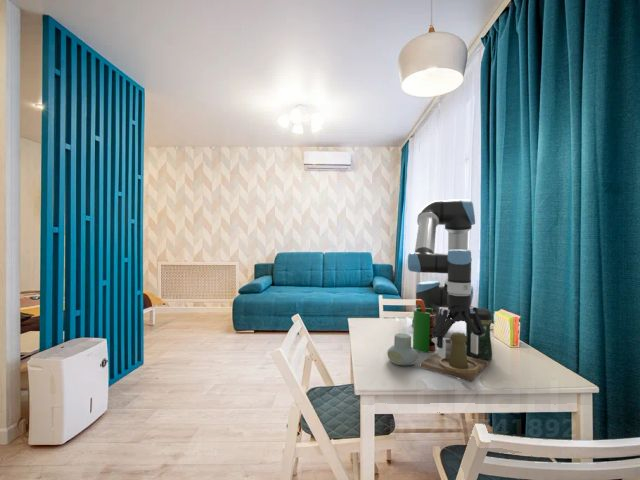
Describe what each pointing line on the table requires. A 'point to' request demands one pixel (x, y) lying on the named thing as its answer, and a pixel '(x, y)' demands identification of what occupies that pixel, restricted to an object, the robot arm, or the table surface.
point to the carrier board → (443, 367)
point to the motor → (423, 328)
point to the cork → (458, 351)
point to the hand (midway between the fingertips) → (458, 355)
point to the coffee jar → (481, 337)
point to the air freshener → (402, 350)
